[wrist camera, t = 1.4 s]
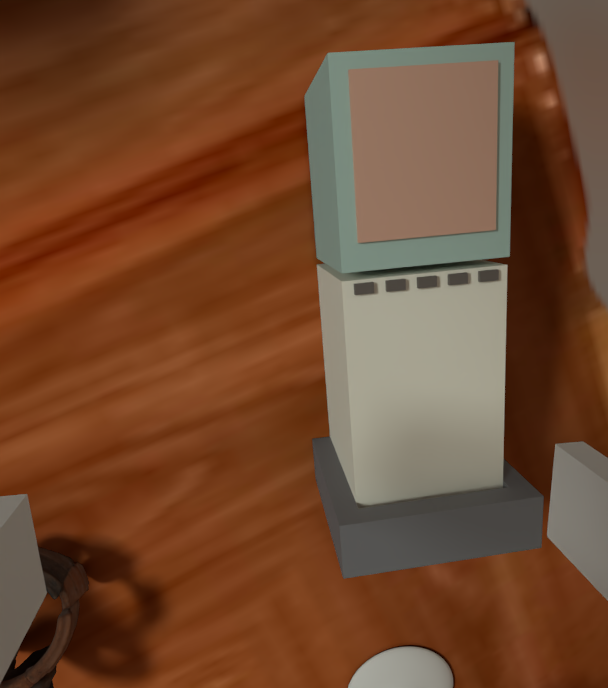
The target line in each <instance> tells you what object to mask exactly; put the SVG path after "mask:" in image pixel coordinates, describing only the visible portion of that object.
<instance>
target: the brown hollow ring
mask: <svg viewBox="0 0 608 688" xmlns="http://www.w3.org/2000/svg"><path fill="white" fill-rule="evenodd" d="M38 551H39V556H40V561H41V566H42V571H43V576H44V581H45V586H46V591H47V592H48V593H49V594H50V595H51V597H52V598H53V599H57V597H58V596H59V595H60V598H61V601H62V612H61V614H60V615H59V616H58V620H57V628H56V632H55V636H54V638H53V641H52V643H51V645H49V646H47V647H45V648H43V649H41V650H38V651H35V652H33V653H32V654H31V655H30V656H29V657H28V658H27V659H26V660H25V661H24V662H23V663H22V664H21V665H20V666H19V667H17V668H16V669H15V664H16V660H15V659H16V656H17V654H18V651H17V652H16V654H15V656H14V658H13V660H12V662H11V664H10V666H9V668H8V670H7V672H6V674H5V676H4V678H3V680H2V682H1V683H0V688H54V687H53V682H52V679H53V677H54V675H55V673H56V665H57V663H58V662H59V660H60V659H61V657H62V655H63V653H64V652H65V650H66V649H67V647H68V645H69V642H70V640H71V638H72V635H73V632H74V630H75V627H76V625H77V620H78V615H79V598H80V597H81V596H82V595H83V594H84V593H85V592H86V591H88V590H89V586H88V585H89V581H88V577H87V575H86V572H85V570H84V567H83V566H82V564H80V563H78V562H77V563H75V564H74V562H73V560H72V559H71V558H70V557H67V556H65V555H62V554H60V553H57V552H54V551H51V550H47V549H44V548H39V547H38Z"/></svg>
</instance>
